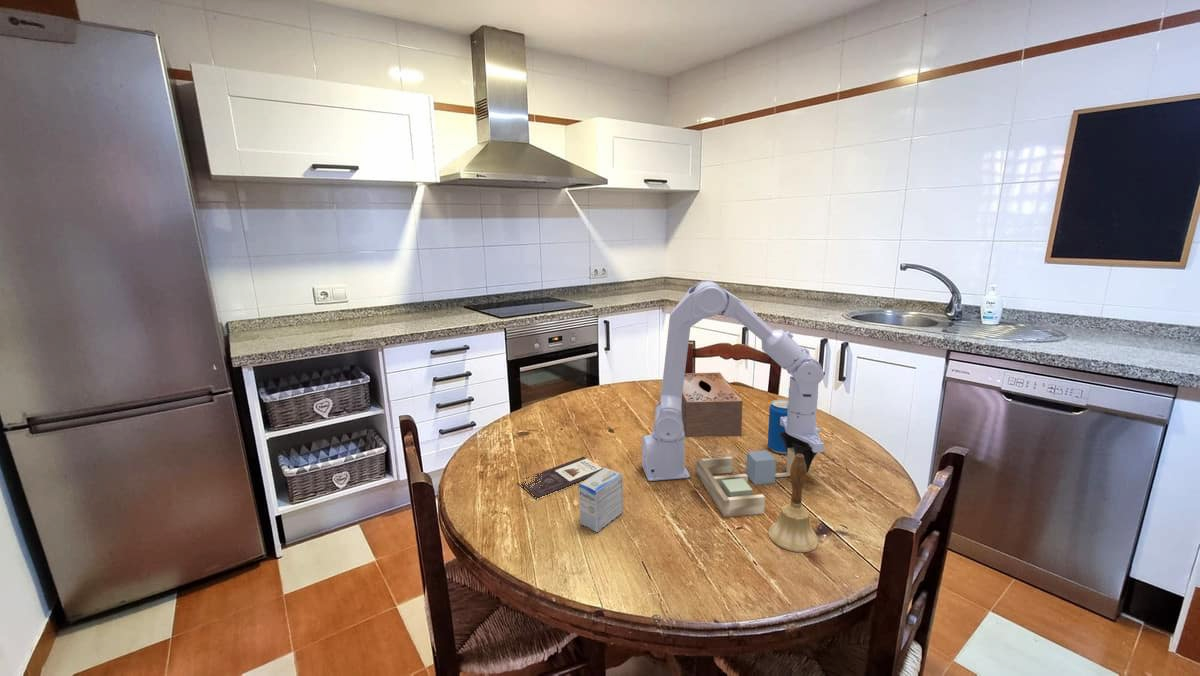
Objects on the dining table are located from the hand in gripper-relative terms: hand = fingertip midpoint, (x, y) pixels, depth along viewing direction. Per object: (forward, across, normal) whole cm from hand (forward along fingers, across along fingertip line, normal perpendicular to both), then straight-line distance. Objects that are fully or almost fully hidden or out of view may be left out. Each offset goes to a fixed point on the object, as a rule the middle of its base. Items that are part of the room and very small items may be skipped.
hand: (798, 468), depth 103 cm
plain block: (+2, -8, +17) cm, 19 cm away
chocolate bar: (+2, +8, +52) cm, 52 cm away
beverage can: (+2, +12, -2) cm, 13 cm away
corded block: (+2, 0, +5) cm, 5 cm away
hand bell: (+2, -20, +12) cm, 23 cm away
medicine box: (+2, -10, +44) cm, 46 cm away
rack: (+2, -4, +18) cm, 18 cm away
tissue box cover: (+2, +36, +10) cm, 37 cm away
